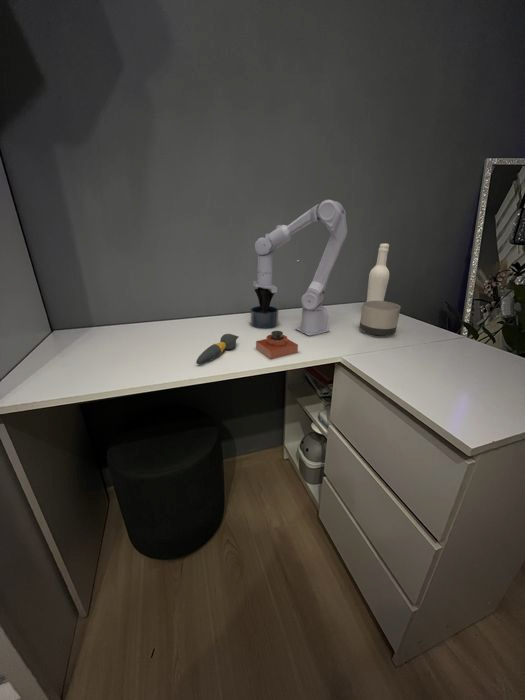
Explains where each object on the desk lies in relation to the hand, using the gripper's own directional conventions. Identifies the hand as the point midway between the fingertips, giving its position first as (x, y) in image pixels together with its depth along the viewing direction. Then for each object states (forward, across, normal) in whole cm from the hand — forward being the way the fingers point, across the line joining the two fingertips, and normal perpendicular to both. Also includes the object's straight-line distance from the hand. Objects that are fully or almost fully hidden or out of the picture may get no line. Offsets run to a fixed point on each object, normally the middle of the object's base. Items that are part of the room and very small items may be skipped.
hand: (264, 307), depth 116 cm
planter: (+7, +28, +32) cm, 43 cm away
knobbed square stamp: (+7, +24, -10) cm, 27 cm away
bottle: (+7, +14, +47) cm, 49 cm away
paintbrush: (+7, +19, -27) cm, 34 cm away
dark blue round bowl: (+7, 0, 0) cm, 7 cm away
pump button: (+3, +25, -10) cm, 27 cm away
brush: (+7, 0, 0) cm, 7 cm away
